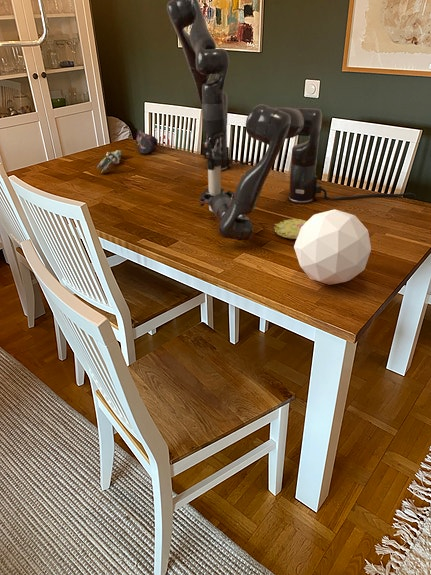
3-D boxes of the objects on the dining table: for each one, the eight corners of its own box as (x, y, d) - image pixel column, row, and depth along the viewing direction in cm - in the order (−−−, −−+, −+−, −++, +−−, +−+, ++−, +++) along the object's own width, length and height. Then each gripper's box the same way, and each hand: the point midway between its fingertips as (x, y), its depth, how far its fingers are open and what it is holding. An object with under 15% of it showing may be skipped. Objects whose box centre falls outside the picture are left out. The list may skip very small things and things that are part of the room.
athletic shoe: (143, 144, 221) (166, 143, 225) (132, 120, 233) (154, 119, 237) (142, 163, 229) (164, 162, 234) (131, 139, 241) (152, 138, 245)
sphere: (306, 297, 126) (271, 236, 124) (363, 261, 128) (330, 201, 126) (334, 302, 107) (294, 231, 105) (400, 260, 109) (362, 189, 107)
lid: (217, 161, 159) (217, 155, 158) (224, 165, 155) (224, 158, 154) (204, 163, 157) (204, 157, 156) (210, 167, 153) (210, 161, 152)
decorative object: (286, 211, 157) (342, 219, 147) (286, 217, 158) (341, 226, 148) (260, 233, 142) (319, 243, 133) (260, 240, 144) (319, 251, 134)
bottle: (223, 208, 166) (223, 158, 156) (218, 212, 162) (217, 162, 152) (212, 206, 168) (211, 157, 158) (206, 210, 164) (205, 160, 154)
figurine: (101, 154, 197) (119, 141, 223) (91, 167, 200) (110, 152, 227) (114, 165, 199) (130, 151, 225) (103, 178, 203) (121, 162, 229)
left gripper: (211, 111, 154) (212, 160, 163) (194, 120, 143) (196, 172, 152) (231, 113, 152) (231, 162, 161) (215, 122, 140) (216, 174, 150)
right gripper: (244, 195, 149) (232, 179, 163) (202, 199, 147) (193, 182, 161) (243, 216, 153) (232, 198, 167) (203, 220, 151) (194, 202, 165)
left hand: (214, 166), depth 156 cm, fingers closed on lid, 5 cm apart
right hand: (213, 191), depth 164 cm, fingers closed on bottle, 4 cm apart
